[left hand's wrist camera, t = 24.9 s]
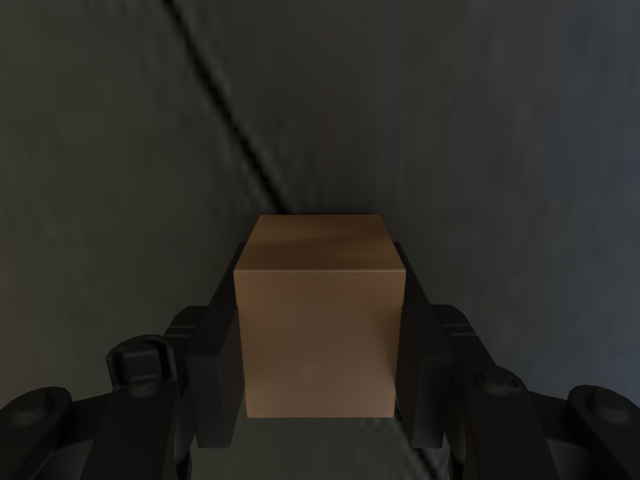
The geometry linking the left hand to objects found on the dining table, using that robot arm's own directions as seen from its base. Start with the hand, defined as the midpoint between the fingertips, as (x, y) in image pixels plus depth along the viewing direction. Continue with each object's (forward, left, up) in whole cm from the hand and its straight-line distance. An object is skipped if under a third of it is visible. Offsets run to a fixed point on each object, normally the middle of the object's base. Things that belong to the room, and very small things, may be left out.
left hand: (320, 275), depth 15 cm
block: (0, 0, 0) cm, 0 cm away
